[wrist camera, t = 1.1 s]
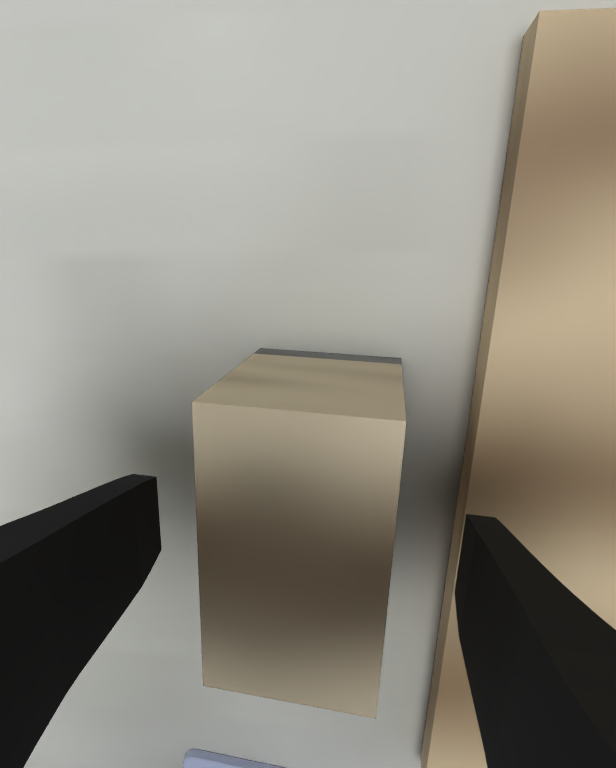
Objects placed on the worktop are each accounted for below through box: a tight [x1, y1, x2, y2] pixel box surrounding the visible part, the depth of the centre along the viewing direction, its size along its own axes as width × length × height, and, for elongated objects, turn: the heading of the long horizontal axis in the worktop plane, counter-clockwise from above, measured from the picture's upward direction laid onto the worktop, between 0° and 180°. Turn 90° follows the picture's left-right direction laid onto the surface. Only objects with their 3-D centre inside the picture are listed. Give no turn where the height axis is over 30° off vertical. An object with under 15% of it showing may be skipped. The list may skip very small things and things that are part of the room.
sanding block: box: [192, 348, 406, 718], centre depth 12 cm, size 7×4×5 cm, turn 178°
